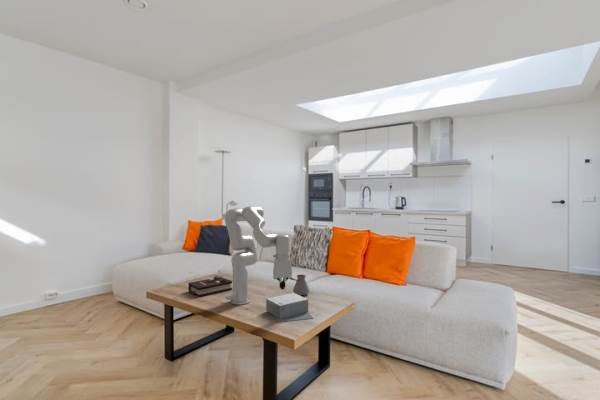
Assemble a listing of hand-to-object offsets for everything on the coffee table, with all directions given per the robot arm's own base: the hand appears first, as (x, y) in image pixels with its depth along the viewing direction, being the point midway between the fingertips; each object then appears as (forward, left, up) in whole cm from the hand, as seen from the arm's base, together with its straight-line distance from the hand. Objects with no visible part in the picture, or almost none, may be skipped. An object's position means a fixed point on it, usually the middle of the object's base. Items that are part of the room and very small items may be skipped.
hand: (282, 288), depth 176 cm
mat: (+6, 0, -15) cm, 16 cm away
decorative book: (-40, +59, -16) cm, 73 cm away
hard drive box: (-6, +1, -11) cm, 13 cm away
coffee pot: (+17, +32, -15) cm, 39 cm away
